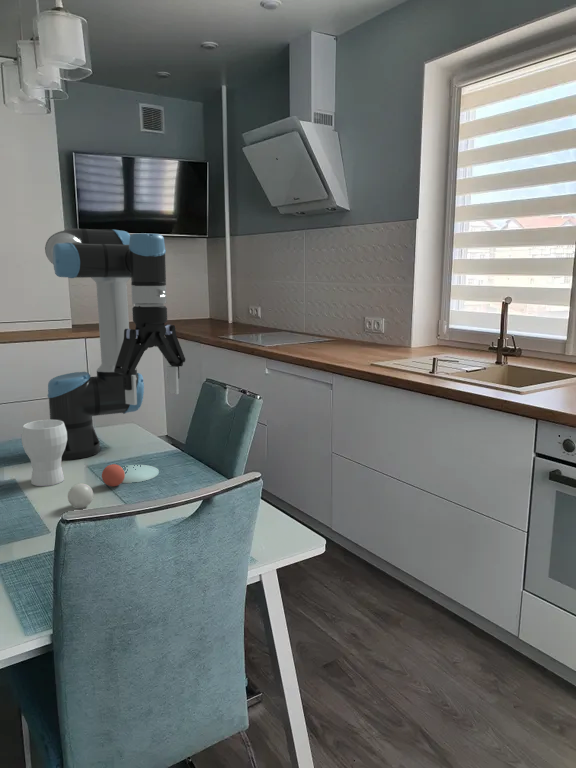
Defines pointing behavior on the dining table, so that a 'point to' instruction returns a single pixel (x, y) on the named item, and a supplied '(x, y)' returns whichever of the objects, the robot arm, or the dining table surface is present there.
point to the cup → (45, 450)
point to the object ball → (113, 475)
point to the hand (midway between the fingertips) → (153, 398)
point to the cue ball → (80, 495)
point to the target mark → (139, 473)
